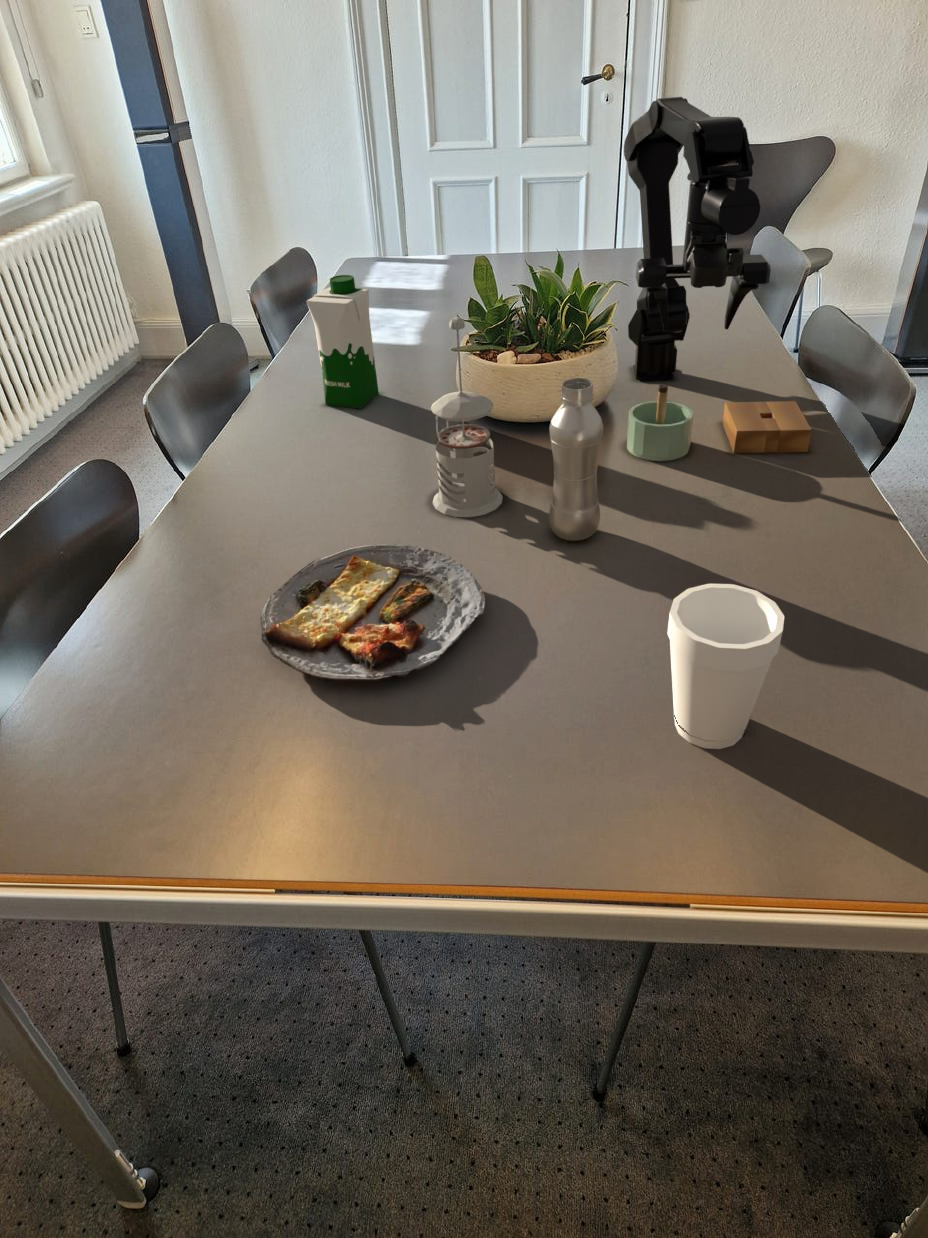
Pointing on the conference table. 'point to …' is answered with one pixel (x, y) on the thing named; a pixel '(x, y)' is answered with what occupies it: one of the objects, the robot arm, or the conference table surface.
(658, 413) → the tan brown rod
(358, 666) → the food plate
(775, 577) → the conference table surface
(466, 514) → the french press
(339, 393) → the milk carton
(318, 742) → the conference table surface
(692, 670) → the foam cup
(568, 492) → the silver metal bottle
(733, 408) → the stand
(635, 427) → the cup
